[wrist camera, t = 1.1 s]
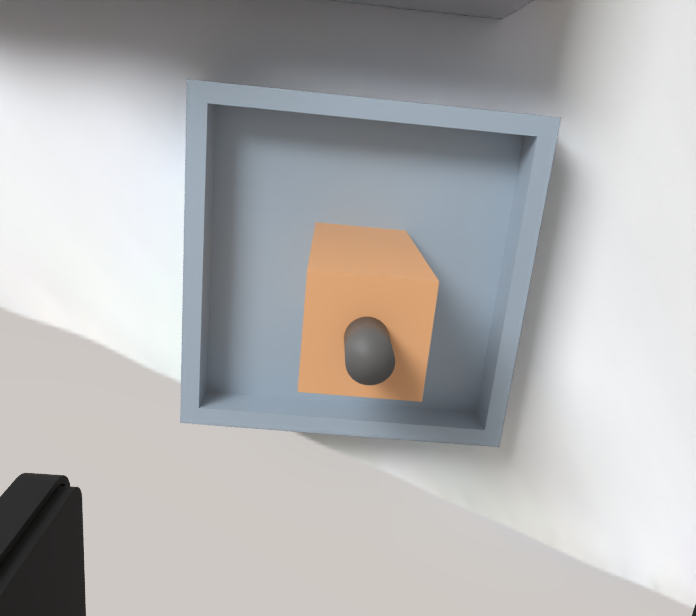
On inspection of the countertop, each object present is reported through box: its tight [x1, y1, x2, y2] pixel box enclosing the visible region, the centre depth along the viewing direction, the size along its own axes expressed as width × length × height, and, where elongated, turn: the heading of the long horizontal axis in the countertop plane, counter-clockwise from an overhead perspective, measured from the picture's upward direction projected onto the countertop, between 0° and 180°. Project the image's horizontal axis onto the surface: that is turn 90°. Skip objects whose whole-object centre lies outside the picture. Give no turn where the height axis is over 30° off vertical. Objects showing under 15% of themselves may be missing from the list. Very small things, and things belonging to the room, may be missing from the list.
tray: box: [180, 79, 561, 447], centre depth 27 cm, size 15×15×3 cm
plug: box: [298, 222, 439, 402], centre depth 22 cm, size 4×4×11 cm
